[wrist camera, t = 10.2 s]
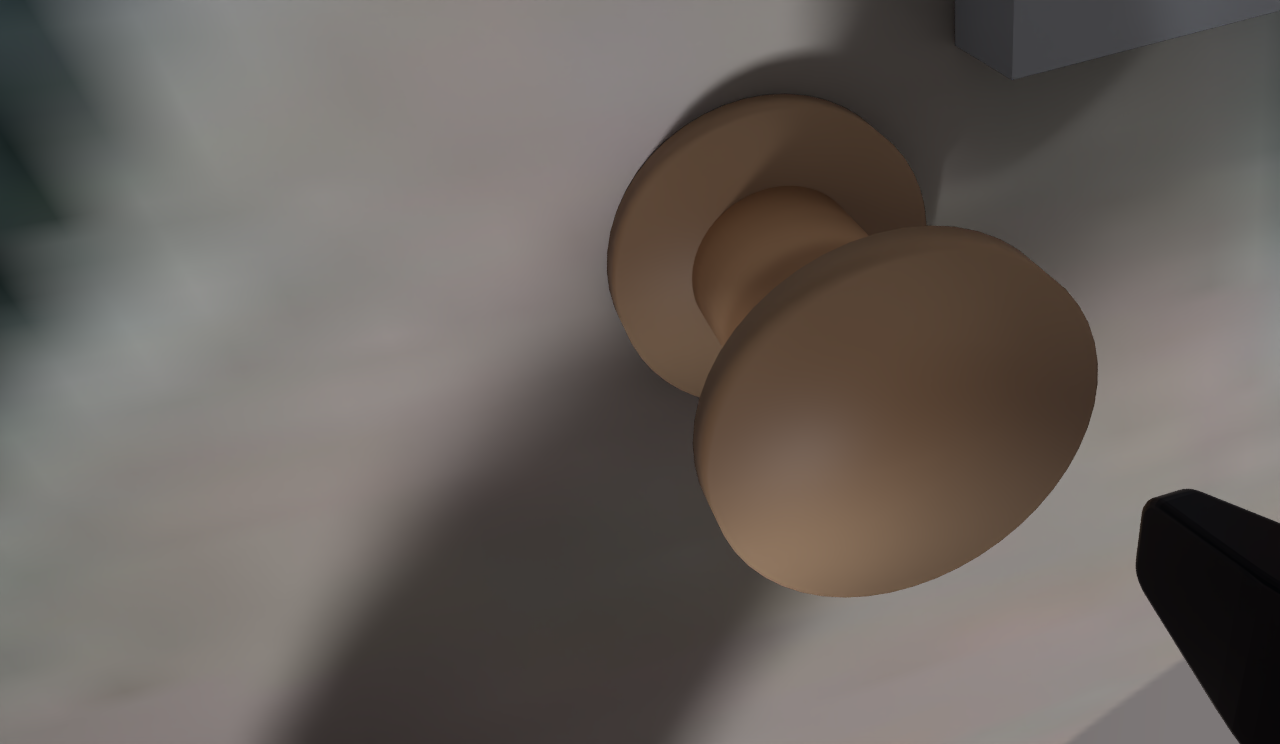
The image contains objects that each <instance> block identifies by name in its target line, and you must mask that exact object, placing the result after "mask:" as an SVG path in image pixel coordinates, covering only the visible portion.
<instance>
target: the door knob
mask: <svg viewBox="0 0 1280 744" xmlns="http://www.w3.org/2000/svg"><path fill="white" fill-rule="evenodd" d="M607 275H608V283H609V290H610V293H611V297H612V300H613V304H614V307H615V309H616V311H617V314H618V316H619V318H620V320H621V322H622V324H623V327H624V329H625V331H626V333H627V335H628V337H629V339H630V341H631V343H632V345H633V346H634V348H635V349H636V351H637V352H638V354H639V355H640V357H641V358H642V359H643V360H644V362H645V363H646V364H647V365H648V366H649V367H650V368H651V369H652V370H653V371H654V372H655V373H656V374H658V375H659V376H660V377H661V378H663V379H664V380H665V381H666V382H668V383H670V384H671V385H673V386H675V387H677V388H678V389H680V390H682V391H684V392H687V393H689V394H692V395H694V396H697V397H700V398H699V402H698V407H697V411H696V416H695V421H694V434H693V451H694V463H695V468H696V472H697V476H698V480H699V483H700V486H701V488H702V490H703V493H704V495H705V497H706V499H707V501H708V504H709V506H710V508H711V510H712V512H713V514H714V516H715V518H716V520H717V522H718V524H719V527H720V529H721V531H722V533H723V535H724V537H725V538H726V540H727V541H728V542H729V544H730V545H731V547H732V548H733V550H734V551H735V552H736V553H737V554H738V555H739V556H740V557H741V558H742V559H743V560H744V561H745V562H746V564H747V565H748V566H750V567H751V568H753V569H754V570H755V571H757V572H758V573H760V574H761V575H762V576H764V577H765V578H767V579H769V580H771V581H773V582H775V583H777V584H780V585H782V586H784V587H787V588H790V589H793V590H796V591H799V592H803V593H808V594H814V595H819V596H829V597H861V596H871V595H878V594H884V593H890V592H894V591H898V590H902V589H906V588H909V587H913V586H916V585H919V584H921V583H924V582H927V581H930V580H933V579H935V578H938V577H940V576H942V575H944V574H946V573H948V572H950V571H953V570H955V569H957V568H959V567H961V566H962V565H964V564H966V563H968V562H969V561H971V560H973V559H975V558H976V557H978V556H980V555H981V554H983V553H984V552H986V551H987V550H988V549H990V548H991V547H993V546H994V545H996V544H997V543H999V542H1000V541H1001V540H1003V539H1004V538H1005V537H1006V536H1007V535H1009V534H1010V533H1011V532H1012V531H1013V530H1015V529H1016V528H1017V527H1018V526H1019V525H1020V524H1022V523H1023V522H1024V521H1025V520H1026V519H1027V518H1028V517H1029V516H1030V515H1031V514H1032V513H1033V512H1034V511H1035V510H1036V509H1037V508H1038V507H1039V505H1040V504H1041V503H1042V502H1043V501H1044V499H1045V498H1046V497H1047V496H1048V495H1049V494H1050V492H1051V491H1052V490H1053V489H1054V487H1055V486H1056V485H1057V483H1058V482H1059V480H1060V479H1061V477H1062V476H1063V474H1064V473H1065V472H1066V470H1067V469H1068V467H1069V465H1070V463H1071V461H1072V460H1073V458H1074V456H1075V454H1076V452H1077V451H1078V449H1079V447H1080V444H1081V442H1082V440H1083V437H1084V435H1085V433H1086V430H1087V428H1088V425H1089V421H1090V418H1091V414H1092V411H1093V407H1094V403H1095V396H1096V390H1097V376H1098V362H1097V355H1096V348H1095V342H1094V339H1093V336H1092V333H1091V330H1090V327H1089V324H1088V321H1087V320H1086V318H1085V316H1084V314H1083V312H1082V311H1081V309H1080V307H1079V305H1078V304H1077V303H1076V301H1075V300H1074V299H1073V298H1072V296H1071V295H1070V294H1069V293H1068V292H1067V290H1066V289H1065V288H1064V287H1062V286H1061V285H1060V284H1059V283H1058V282H1056V281H1055V280H1054V279H1053V278H1052V277H1050V276H1049V275H1048V274H1047V273H1046V272H1044V271H1043V270H1042V269H1041V268H1040V267H1039V266H1037V265H1036V264H1035V263H1034V262H1033V261H1031V260H1030V259H1029V258H1028V257H1027V256H1025V255H1024V254H1023V253H1022V252H1021V251H1019V250H1018V249H1016V248H1014V247H1013V246H1011V245H1009V244H1007V243H1006V242H1004V241H1002V240H1000V239H998V238H995V237H992V236H990V235H987V234H984V233H981V232H979V231H974V230H969V229H964V228H959V227H949V226H926V216H925V207H924V202H923V198H922V194H921V190H920V187H919V185H918V183H917V180H916V178H915V175H914V173H913V171H912V170H911V168H910V166H909V165H908V163H907V161H906V160H905V158H904V157H903V156H902V155H901V153H900V152H899V151H898V150H897V149H896V148H895V146H894V145H893V144H892V143H891V142H889V141H888V140H887V139H886V138H885V137H884V136H882V135H881V134H880V133H879V132H878V131H876V130H875V129H874V128H873V127H872V126H870V125H869V124H868V123H867V122H866V121H864V120H863V119H862V118H861V117H860V116H858V115H856V114H855V113H853V112H851V111H849V110H848V109H846V108H844V107H842V106H840V105H837V104H835V103H832V102H830V101H827V100H824V99H820V98H815V97H811V96H807V95H795V94H772V95H762V96H756V97H751V98H746V99H742V100H739V101H736V102H733V103H729V104H726V105H723V106H721V107H719V108H717V109H714V110H712V111H710V112H708V113H706V114H704V115H702V116H700V117H699V118H697V119H695V120H694V121H692V122H690V123H689V124H687V125H686V126H684V127H683V128H681V129H680V130H679V131H678V132H676V133H675V134H674V135H673V136H671V137H670V138H669V139H667V140H666V141H665V142H664V143H663V144H662V145H661V146H660V147H659V148H658V149H657V150H656V151H655V152H654V153H653V154H652V155H651V156H650V157H649V159H648V160H647V161H646V162H645V164H644V165H643V166H642V168H641V169H640V170H639V171H638V173H637V174H636V175H635V177H634V179H633V180H632V182H631V184H630V185H629V187H628V189H627V190H626V192H625V194H624V196H623V198H622V201H621V203H620V205H619V207H618V210H617V212H616V215H615V218H614V222H613V225H612V228H611V232H610V238H609V244H608V251H607Z"/></svg>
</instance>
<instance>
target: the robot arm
mask: <svg viewBox="0 0 1280 744" xmlns="http://www.w3.org/2000/svg"><path fill="white" fill-rule="evenodd" d="M1136 573H1137V577H1138V581H1139V583H1140V586H1141V588H1142V590H1143V592H1144V594H1145V595H1146V597H1147V598H1148V600H1149V602H1150V603H1151V605H1152V607H1153V608H1154V610H1155V611H1156V613H1157V615H1158V616H1159V618H1160V619H1161V621H1162V623H1163V624H1164V626H1165V628H1166V629H1167V631H1168V632H1169V634H1170V636H1171V637H1172V639H1173V640H1174V642H1175V644H1176V645H1177V647H1178V648H1179V650H1180V652H1181V653H1182V655H1183V657H1184V658H1185V660H1186V661H1187V663H1188V665H1189V666H1190V668H1191V669H1192V671H1193V673H1194V674H1195V676H1196V678H1197V679H1198V681H1199V682H1200V684H1201V686H1202V687H1203V689H1204V690H1205V692H1206V694H1207V695H1208V697H1209V698H1210V700H1211V701H1212V703H1213V705H1214V706H1215V708H1216V710H1217V711H1218V713H1219V714H1220V716H1221V717H1222V719H1223V720H1224V722H1225V723H1226V725H1227V726H1228V728H1229V729H1230V731H1231V732H1232V734H1233V735H1234V736H1235V738H1236V739H1237V740H1238V742H1239V743H1240V744H1280V523H1278V522H1276V521H1273V520H1271V519H1268V518H1266V517H1263V516H1261V515H1258V514H1256V513H1253V512H1251V511H1248V510H1246V509H1243V508H1241V507H1238V506H1236V505H1233V504H1231V503H1228V502H1226V501H1223V500H1221V499H1218V498H1216V497H1213V496H1211V495H1208V494H1206V493H1203V492H1200V491H1197V490H1194V489H1182V490H1178V491H1175V492H1171V493H1168V494H1165V495H1161V496H1158V497H1155V498H1152V499H1150V500H1149V501H1147V503H1146V504H1145V506H1144V507H1143V510H1142V516H1141V524H1140V532H1139V540H1138V548H1137V556H1136Z"/></svg>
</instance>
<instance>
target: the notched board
mask: <svg viewBox="0 0 1280 744" xmlns="http://www.w3.org/2000/svg"><path fill="white" fill-rule="evenodd" d="M1277 11H1280V0H955V46H957V47H959V48H960V49H962V50H964V51H965V52H967V53H969V54H970V55H972V56H973V57H975V58H977V59H978V60H980V61H982V62H983V63H985V64H987V65H988V66H990V67H991V68H993V69H995V70H996V71H998V72H1000V73H1001V74H1003V75H1005V76H1006V77H1008V78H1010V79H1011V80H1014V79H1018V78H1022V77H1026V76H1030V75H1034V74H1037V73H1041V72H1045V71H1049V70H1053V69H1057V68H1061V67H1065V66H1068V65H1072V64H1076V63H1080V62H1084V61H1088V60H1092V59H1095V58H1099V57H1103V56H1107V55H1111V54H1115V53H1119V52H1122V51H1126V50H1130V49H1134V48H1138V47H1142V46H1146V45H1149V44H1153V43H1157V42H1161V41H1165V40H1169V39H1173V38H1177V37H1180V36H1184V35H1188V34H1192V33H1196V32H1200V31H1204V30H1207V29H1211V28H1215V27H1219V26H1223V25H1227V24H1231V23H1234V22H1238V21H1242V20H1246V19H1250V18H1254V17H1258V16H1261V15H1265V14H1269V13H1273V12H1277Z"/></svg>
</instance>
